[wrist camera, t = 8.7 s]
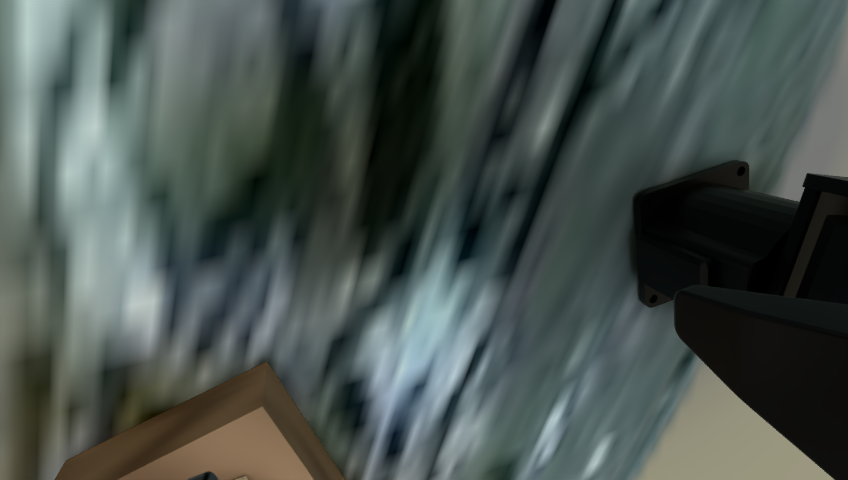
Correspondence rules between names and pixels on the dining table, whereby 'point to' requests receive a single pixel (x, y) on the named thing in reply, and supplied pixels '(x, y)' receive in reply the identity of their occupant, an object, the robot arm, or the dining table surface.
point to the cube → (243, 478)
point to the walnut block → (215, 439)
